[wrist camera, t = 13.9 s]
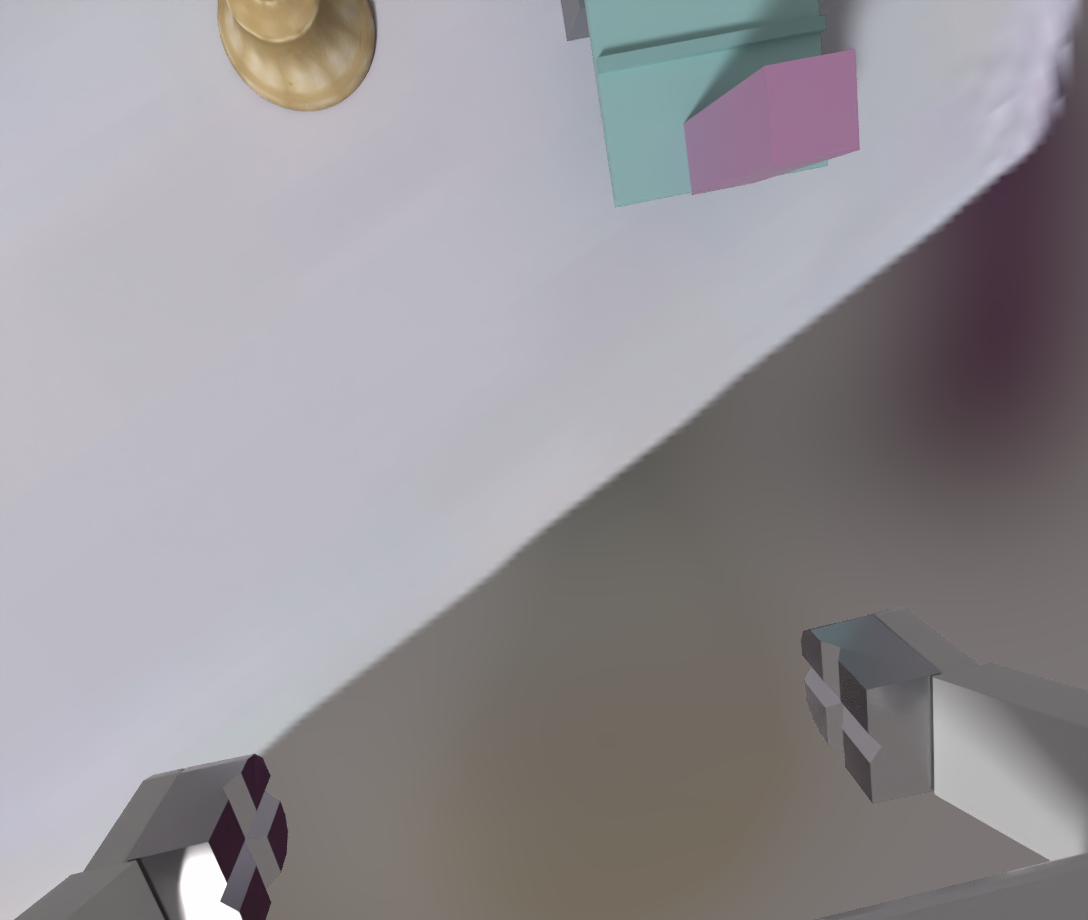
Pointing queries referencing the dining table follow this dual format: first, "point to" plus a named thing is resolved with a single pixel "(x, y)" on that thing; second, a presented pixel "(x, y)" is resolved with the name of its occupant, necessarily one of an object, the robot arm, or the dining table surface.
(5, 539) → the dining table surface
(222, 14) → the hand bell
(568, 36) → the tray
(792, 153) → the lid
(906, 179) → the dining table surface
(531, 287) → the dining table surface
